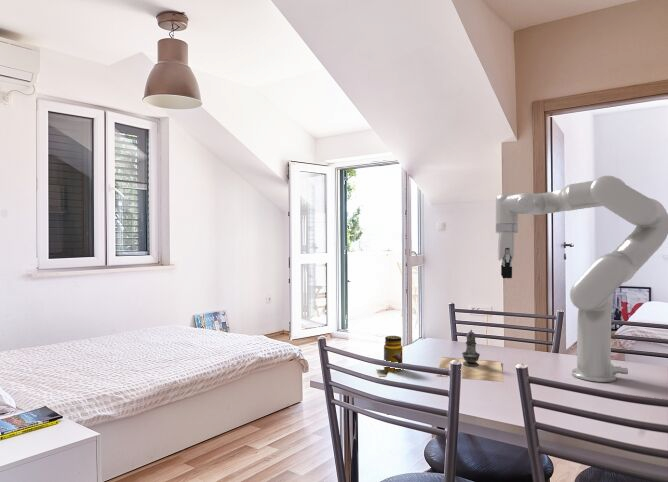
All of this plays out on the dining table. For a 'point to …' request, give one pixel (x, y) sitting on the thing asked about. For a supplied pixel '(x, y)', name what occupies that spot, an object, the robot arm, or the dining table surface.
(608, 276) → the robot arm
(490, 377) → the laid floor planks
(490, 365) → the board
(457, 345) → the dining table surface
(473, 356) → the dark grey tall piece
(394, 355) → the condiment
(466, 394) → the dining table surface
